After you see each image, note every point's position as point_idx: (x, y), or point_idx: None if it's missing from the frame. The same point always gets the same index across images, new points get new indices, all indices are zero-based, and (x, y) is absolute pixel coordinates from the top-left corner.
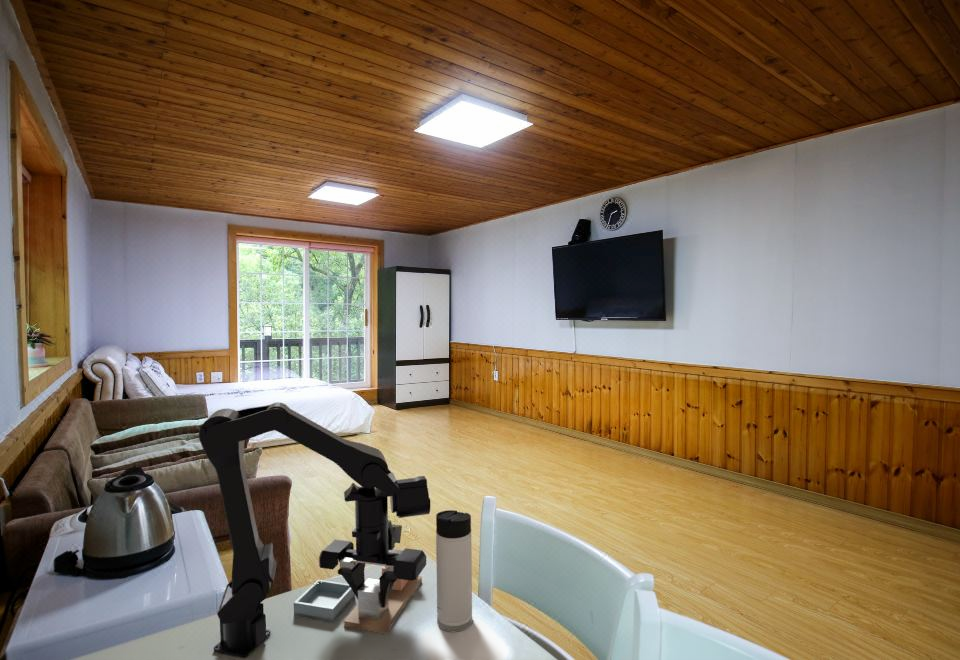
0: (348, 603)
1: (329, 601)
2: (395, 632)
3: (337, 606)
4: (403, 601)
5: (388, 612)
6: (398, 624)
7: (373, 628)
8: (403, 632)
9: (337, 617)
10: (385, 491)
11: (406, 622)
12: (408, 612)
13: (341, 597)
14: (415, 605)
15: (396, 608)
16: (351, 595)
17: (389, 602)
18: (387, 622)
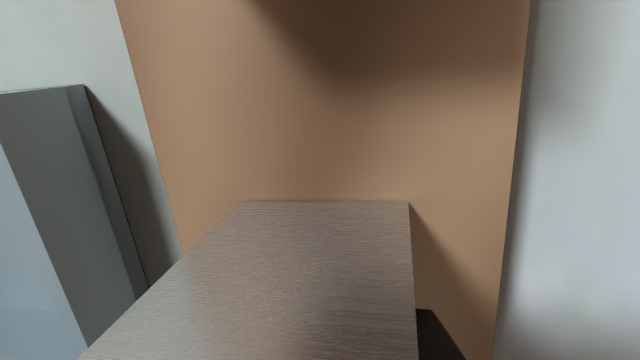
0: (104, 173)
1: (9, 203)
2: (539, 344)
3: (98, 326)
4: (516, 76)
5: (434, 253)
6: (533, 277)
7: None
8: (600, 339)
9: (146, 281)
10: None
11: (593, 249)
12: (574, 133)
13: (47, 276)
14: (622, 8)
15: (482, 192)
16: (62, 141)
17: (379, 129)
18: (477, 349)
